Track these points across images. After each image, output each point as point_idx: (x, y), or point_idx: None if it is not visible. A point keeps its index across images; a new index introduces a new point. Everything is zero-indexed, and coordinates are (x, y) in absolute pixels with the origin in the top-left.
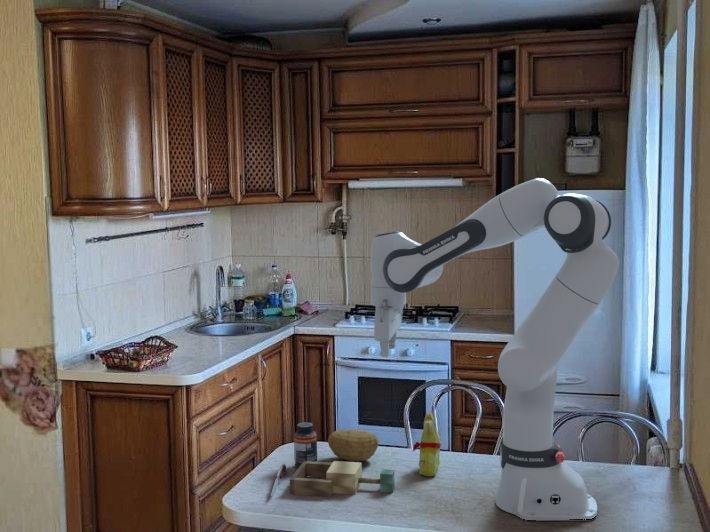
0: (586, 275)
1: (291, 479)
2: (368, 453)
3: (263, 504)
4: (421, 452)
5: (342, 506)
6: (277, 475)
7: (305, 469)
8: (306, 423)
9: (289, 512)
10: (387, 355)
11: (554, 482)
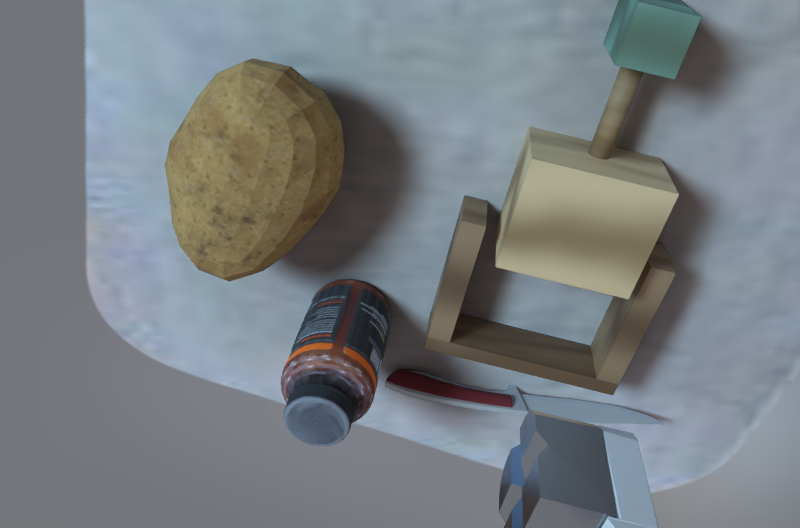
0: None
1: (613, 390)
2: (331, 106)
3: (677, 426)
4: None
5: (770, 210)
6: (523, 413)
7: (463, 333)
8: (302, 417)
9: (767, 366)
10: (631, 450)
11: None
